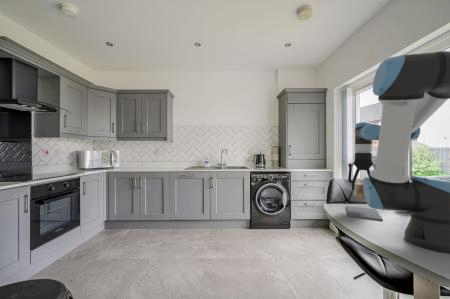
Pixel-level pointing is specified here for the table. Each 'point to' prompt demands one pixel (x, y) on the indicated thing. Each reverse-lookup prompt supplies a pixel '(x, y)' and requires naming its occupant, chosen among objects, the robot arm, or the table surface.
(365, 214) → the mat
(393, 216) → the table surface
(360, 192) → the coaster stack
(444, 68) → the robot arm
